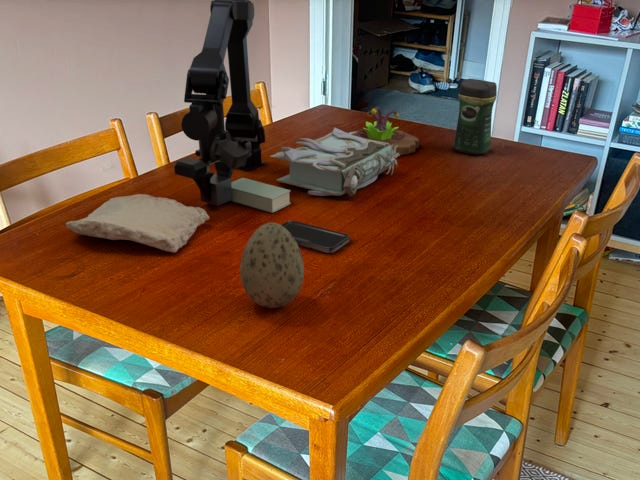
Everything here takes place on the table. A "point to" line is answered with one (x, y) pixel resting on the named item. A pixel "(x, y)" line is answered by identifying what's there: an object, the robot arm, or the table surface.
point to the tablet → (142, 221)
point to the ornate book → (337, 163)
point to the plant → (388, 133)
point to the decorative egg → (272, 266)
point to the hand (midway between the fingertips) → (216, 196)
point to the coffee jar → (475, 116)
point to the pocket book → (259, 195)
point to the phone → (316, 237)
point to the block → (219, 190)
